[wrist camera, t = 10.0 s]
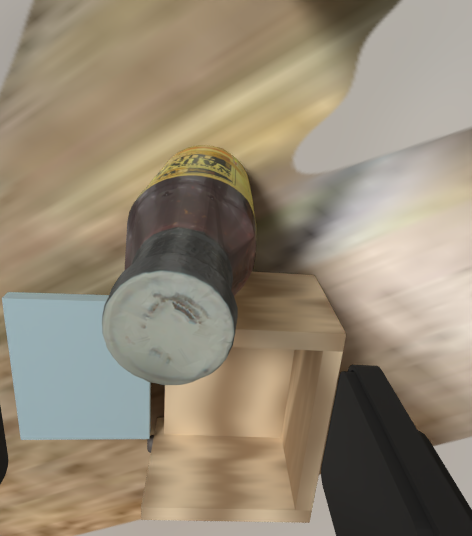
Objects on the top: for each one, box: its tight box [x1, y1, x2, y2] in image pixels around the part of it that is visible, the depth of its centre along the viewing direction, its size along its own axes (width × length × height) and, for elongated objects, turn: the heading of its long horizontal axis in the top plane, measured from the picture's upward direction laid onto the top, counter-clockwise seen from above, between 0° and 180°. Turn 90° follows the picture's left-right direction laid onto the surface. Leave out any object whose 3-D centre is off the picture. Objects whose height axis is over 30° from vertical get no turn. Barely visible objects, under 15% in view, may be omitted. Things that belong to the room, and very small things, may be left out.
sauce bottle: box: [102, 145, 256, 385], centre depth 22 cm, size 6×6×20 cm
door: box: [2, 292, 151, 440], centre depth 34 cm, size 10×12×2 cm
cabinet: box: [141, 272, 346, 523], centre depth 32 cm, size 12×16×9 cm
